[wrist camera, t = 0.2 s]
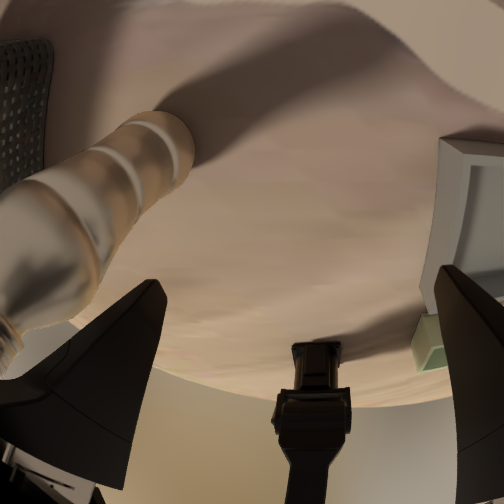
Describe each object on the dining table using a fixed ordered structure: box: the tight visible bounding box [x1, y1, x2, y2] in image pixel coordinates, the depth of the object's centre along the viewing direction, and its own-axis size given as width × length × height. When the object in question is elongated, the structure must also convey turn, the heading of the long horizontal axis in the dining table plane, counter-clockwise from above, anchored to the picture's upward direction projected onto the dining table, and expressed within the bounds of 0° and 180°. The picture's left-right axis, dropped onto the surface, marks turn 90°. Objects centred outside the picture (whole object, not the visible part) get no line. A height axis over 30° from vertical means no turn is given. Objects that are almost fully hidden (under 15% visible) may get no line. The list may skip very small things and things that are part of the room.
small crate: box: [411, 313, 448, 374], centre depth 26 cm, size 6×9×5 cm
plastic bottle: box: [0, 111, 195, 378], centre depth 13 cm, size 6×7×20 cm
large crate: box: [419, 138, 504, 315], centre depth 17 cm, size 16×16×4 cm
